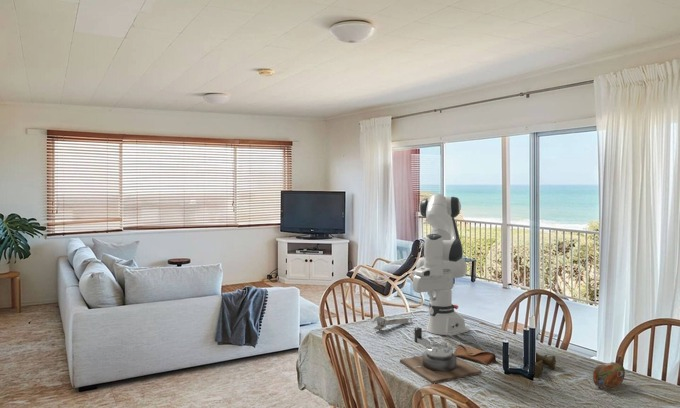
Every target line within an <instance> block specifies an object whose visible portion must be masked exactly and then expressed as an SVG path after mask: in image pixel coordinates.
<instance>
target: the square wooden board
mask: <svg viewBox="0 0 680 408" xmlns="http://www.w3.org/2000/svg"><path fill="white" fill-rule="evenodd" d="M399 362H400V363H401V364H402V365H404V366H405V367H407V368H408V369H410V370H412V372H414V373H416V374H417V375H419V376H420V377H421V378H423V379H424V380H426V381H428V382H429V383H431V384H432V383H433V384H436V383H442V382H447V381H451V380H455V379H462V378H466V377H470V376H474V375H480V374H482V370H481V369H478V368H477V367H475V366H473V365H471V364H469V363H468V362H466V361H463V359H461V358H458V357H456V355H455V354H454V353H453V357H452V358H451V359H448V360H436V359H432V358H429V357H428V356H427V355H426V351H424V352H422V355H419V356H418V355H417V356H413V357H408V358H401V359H399Z"/></svg>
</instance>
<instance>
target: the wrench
mask: <svg viewBox="0 0 680 408" xmlns="http://www.w3.org/2000/svg"><path fill="white" fill-rule="evenodd" d="M412 321H413V320H412V317H410V316H405V317H398V318H397V317H395V318H386V319H385V318H382V317H381V316H380V315H374V316H373V317H372V318H371V322H372V323H375V322H376V325H373V326H372V329H373V330H376V331H379V332H380V331H382V330H383V329H384V328H385V327H386V326H391V325H402V324H410V322H411V323H412Z"/></svg>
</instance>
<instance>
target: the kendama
mask: <svg viewBox="0 0 680 408" xmlns="http://www.w3.org/2000/svg"><path fill="white" fill-rule="evenodd" d="M556 361H557V358H556V356H555V355H550V356H548V354H545V355H541V354H539V353H538V352H536V362H535V376H534V377H536V378H539V377H541V376H542V375H543V374H542V373H543V372H544V368H545V367H544V366H546V367H548V368H550V369H551V370H555V367H556V363H557V362H556Z"/></svg>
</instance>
